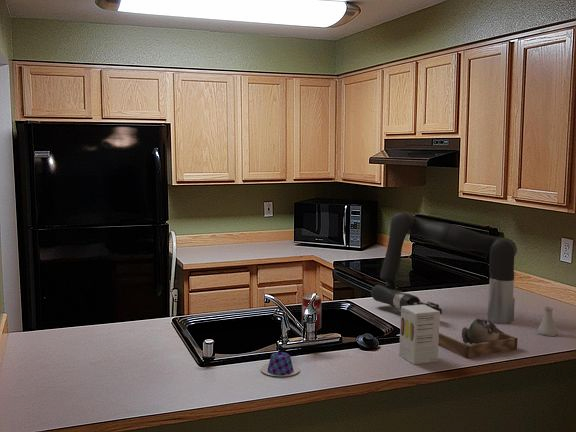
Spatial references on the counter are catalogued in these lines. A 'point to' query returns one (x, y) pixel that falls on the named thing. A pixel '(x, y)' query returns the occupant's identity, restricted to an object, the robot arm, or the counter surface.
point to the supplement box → (419, 334)
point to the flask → (547, 324)
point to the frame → (479, 346)
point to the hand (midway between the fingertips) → (432, 312)
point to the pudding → (280, 365)
